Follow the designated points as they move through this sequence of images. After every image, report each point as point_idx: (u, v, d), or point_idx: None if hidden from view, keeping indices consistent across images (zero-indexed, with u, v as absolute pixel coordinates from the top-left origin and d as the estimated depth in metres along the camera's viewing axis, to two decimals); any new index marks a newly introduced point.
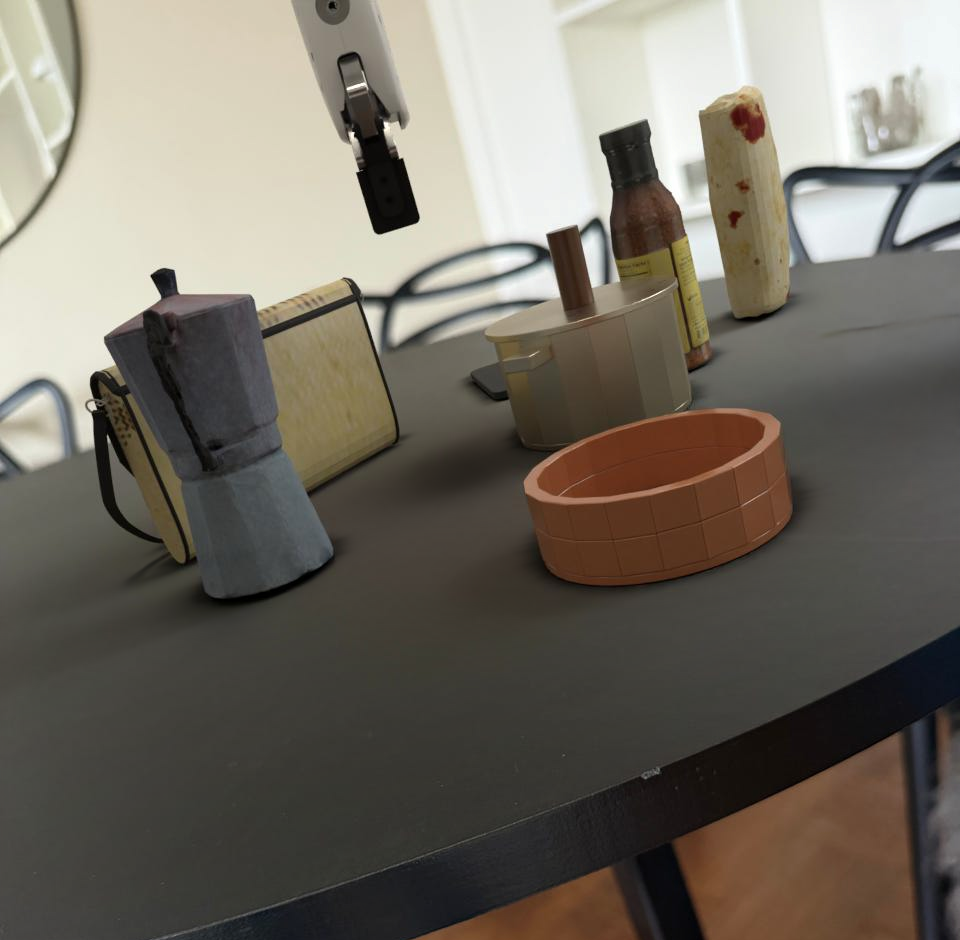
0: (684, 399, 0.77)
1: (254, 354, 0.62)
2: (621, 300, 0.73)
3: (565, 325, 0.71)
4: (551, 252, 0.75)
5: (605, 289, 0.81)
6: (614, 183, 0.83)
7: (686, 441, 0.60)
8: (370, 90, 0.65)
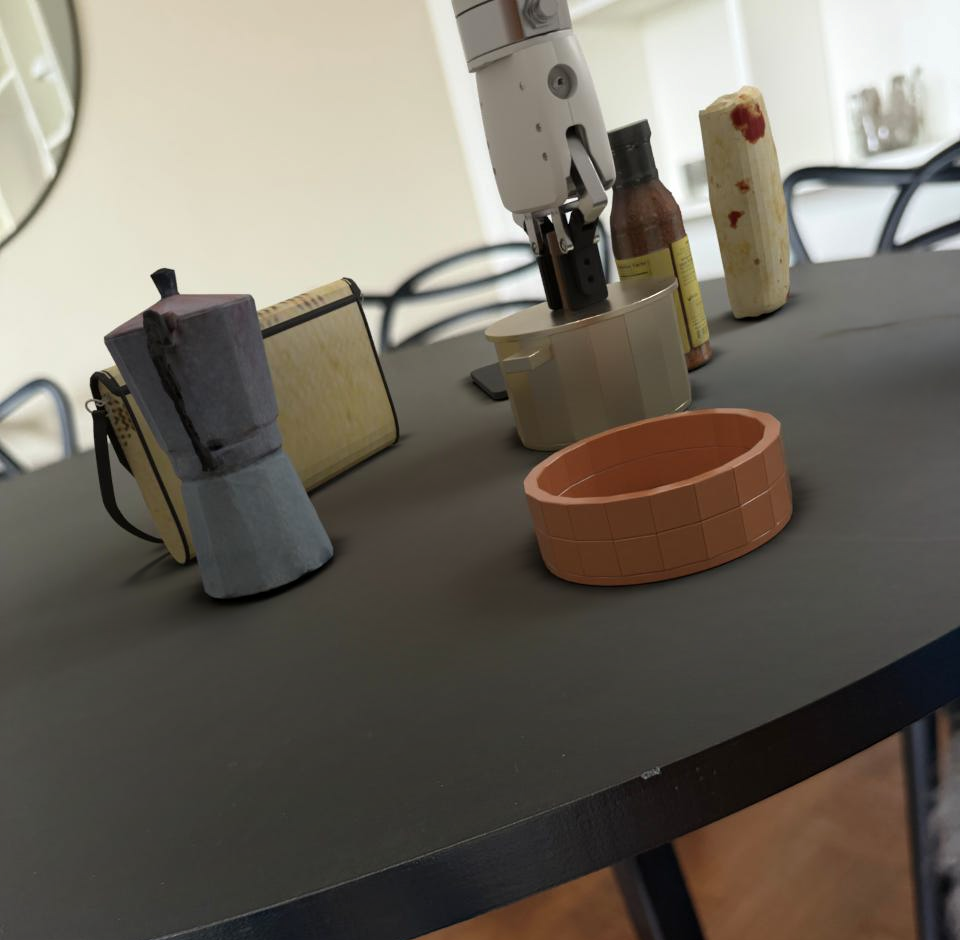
0: (684, 399, 0.77)
1: (254, 354, 0.62)
2: (621, 300, 0.73)
3: (565, 325, 0.71)
4: (551, 252, 0.75)
5: None
6: (614, 183, 0.83)
7: (686, 441, 0.60)
8: None
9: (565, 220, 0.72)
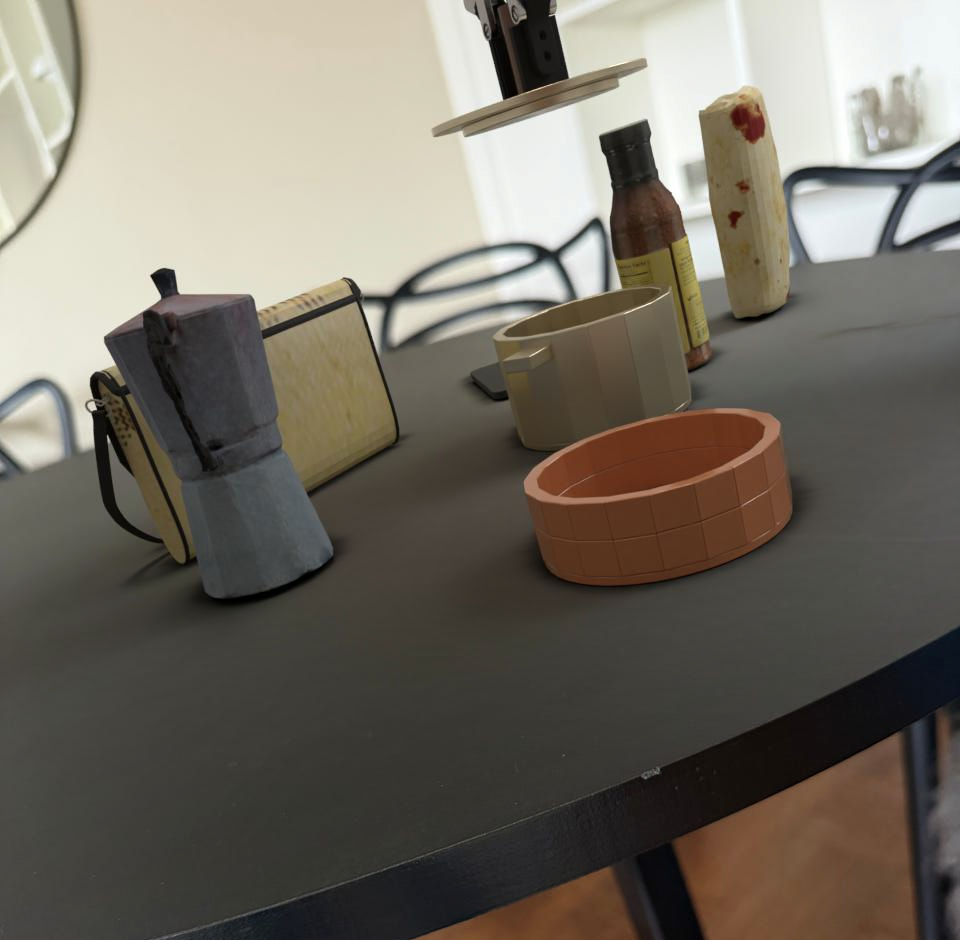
0: (684, 399, 0.77)
1: (254, 354, 0.62)
2: None
3: (515, 97, 0.62)
4: (503, 29, 0.67)
5: None
6: (614, 183, 0.83)
7: (686, 441, 0.60)
8: None
9: None
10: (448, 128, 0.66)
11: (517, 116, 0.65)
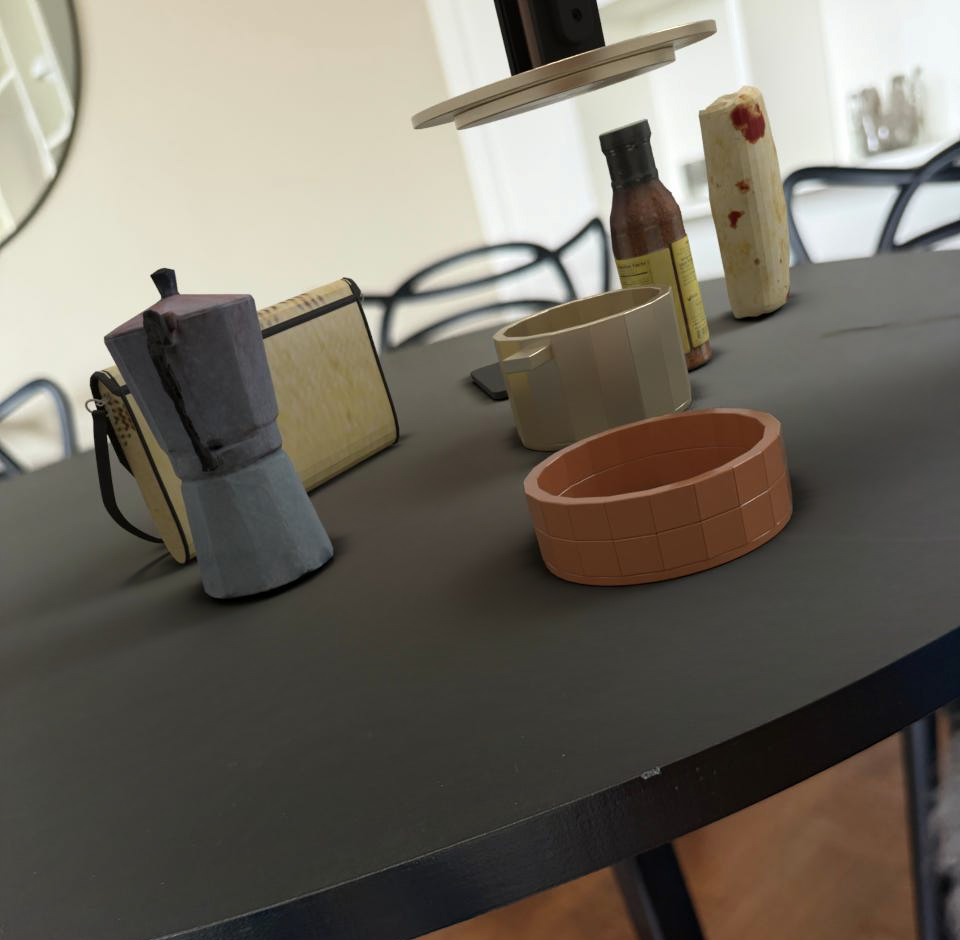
0: (684, 399, 0.77)
1: (254, 354, 0.62)
2: None
3: (532, 71, 0.43)
4: None
5: None
6: (614, 183, 0.83)
7: (686, 441, 0.60)
8: None
9: None
10: (434, 116, 0.46)
11: (533, 100, 0.45)
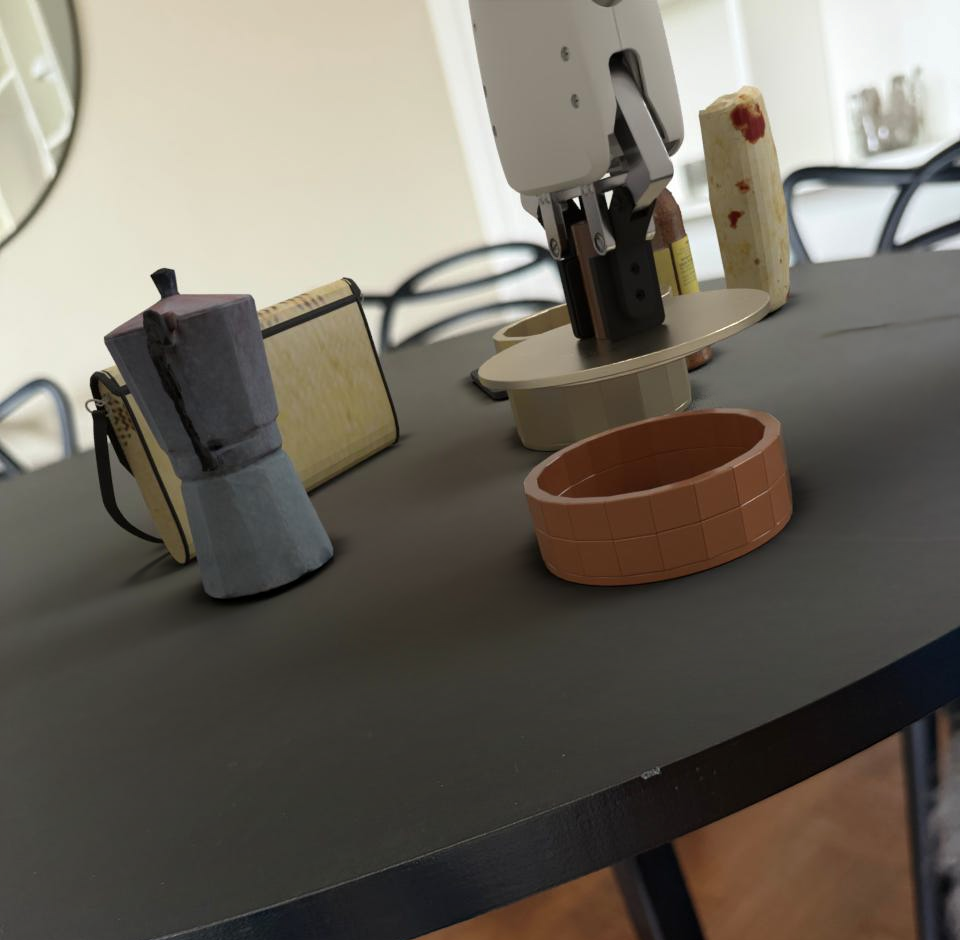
0: (684, 399, 0.77)
1: (255, 354, 0.62)
2: (687, 327, 0.48)
3: (603, 367, 0.45)
4: (579, 253, 0.50)
5: None
6: None
7: (686, 441, 0.60)
8: None
9: (604, 204, 0.46)
10: (505, 389, 0.49)
11: (600, 380, 0.48)
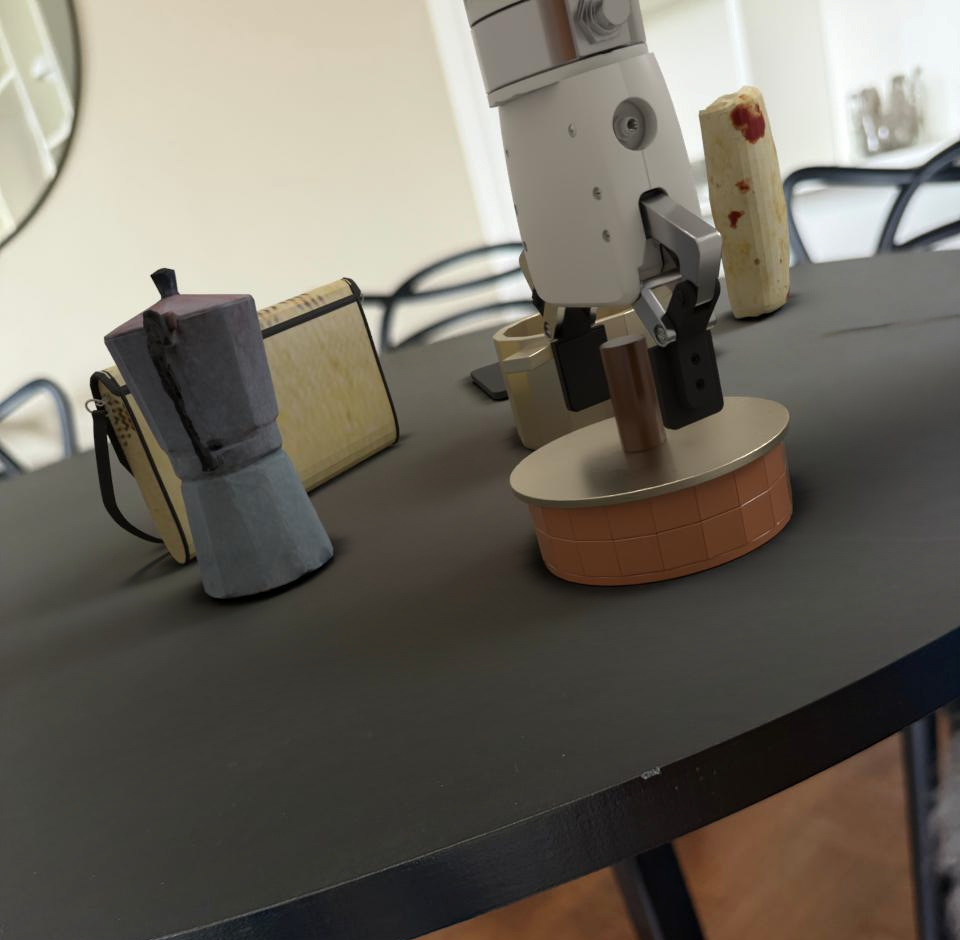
0: None
1: (255, 354, 0.62)
2: (711, 448, 0.50)
3: (633, 493, 0.48)
4: (607, 373, 0.52)
5: None
6: None
7: None
8: None
9: (652, 297, 0.46)
10: (538, 505, 0.51)
11: None
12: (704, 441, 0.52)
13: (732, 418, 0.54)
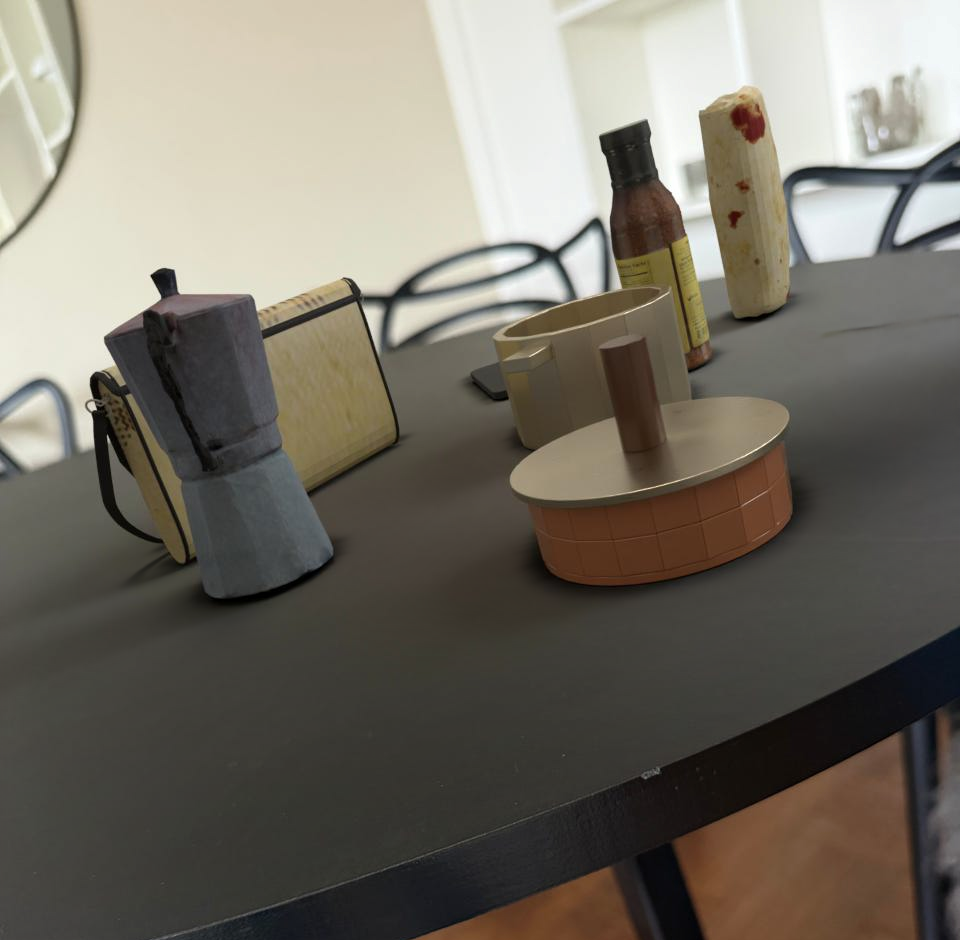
0: (684, 399, 0.77)
1: (255, 354, 0.62)
2: (711, 448, 0.50)
3: (633, 493, 0.48)
4: (607, 373, 0.52)
5: (677, 414, 0.57)
6: (614, 183, 0.83)
7: None
8: None
9: None
10: (538, 505, 0.51)
11: None
12: (704, 441, 0.52)
13: (732, 418, 0.54)
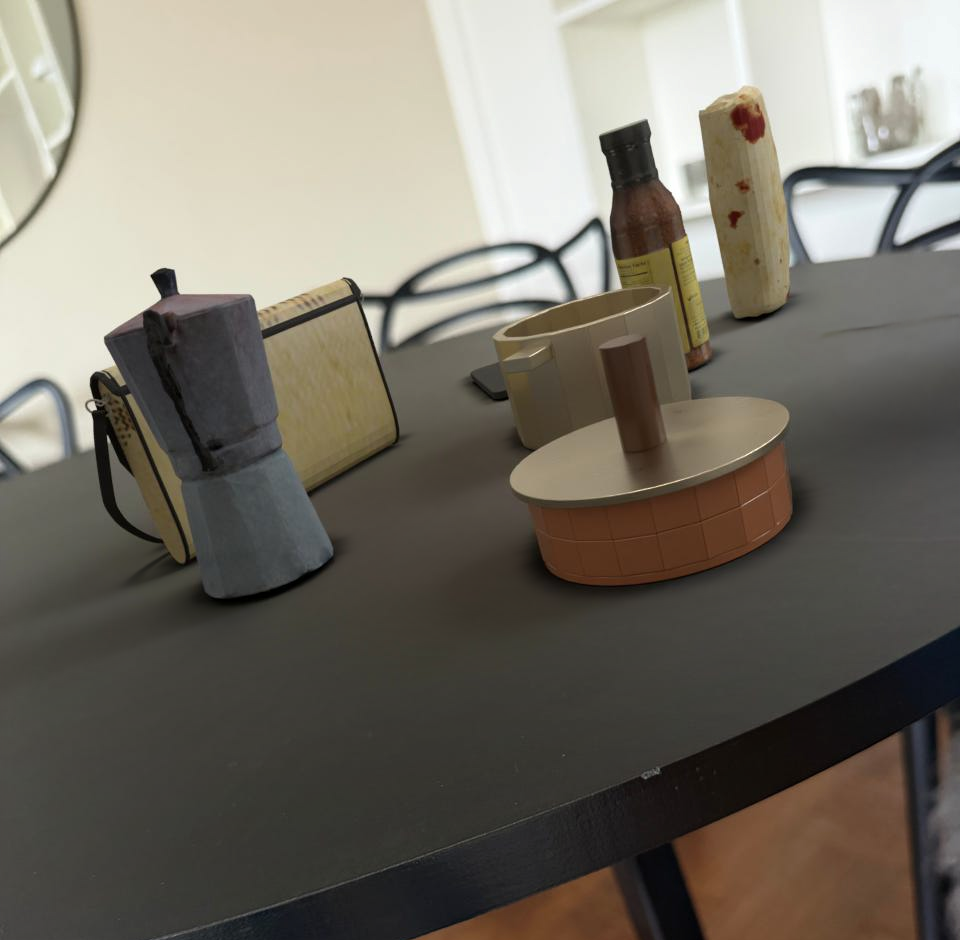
0: (684, 399, 0.77)
1: (255, 354, 0.62)
2: (711, 448, 0.50)
3: (633, 493, 0.48)
4: (607, 373, 0.52)
5: (677, 414, 0.57)
6: (614, 183, 0.83)
7: None
8: None
9: None
10: (538, 505, 0.51)
11: None
12: (704, 441, 0.52)
13: (732, 418, 0.54)
